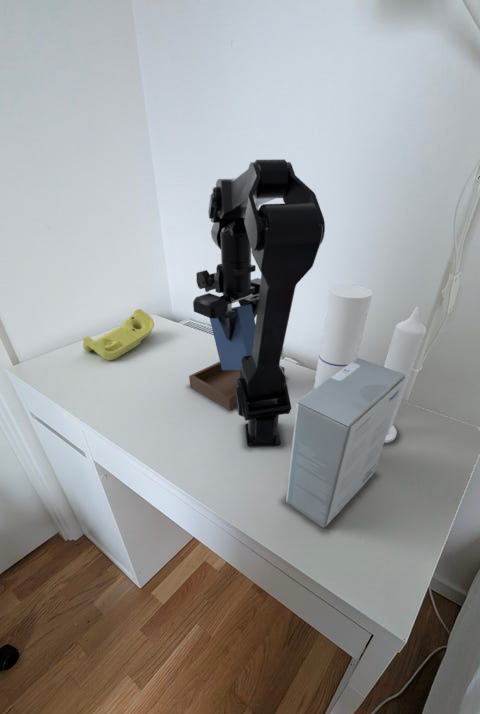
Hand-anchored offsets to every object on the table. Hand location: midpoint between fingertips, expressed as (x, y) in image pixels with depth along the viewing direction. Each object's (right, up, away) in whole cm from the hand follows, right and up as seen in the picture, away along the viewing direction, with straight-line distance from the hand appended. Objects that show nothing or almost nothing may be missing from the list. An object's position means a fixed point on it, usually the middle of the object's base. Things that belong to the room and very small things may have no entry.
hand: (236, 336), depth 74 cm
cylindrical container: (+20, -16, -1) cm, 26 cm away
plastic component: (-33, +3, +24) cm, 41 cm away
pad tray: (0, -9, +8) cm, 12 cm away
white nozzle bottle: (+28, -21, -7) cm, 36 cm away
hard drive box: (+16, -30, -18) cm, 39 cm away
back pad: (+1, -6, +3) cm, 7 cm away
